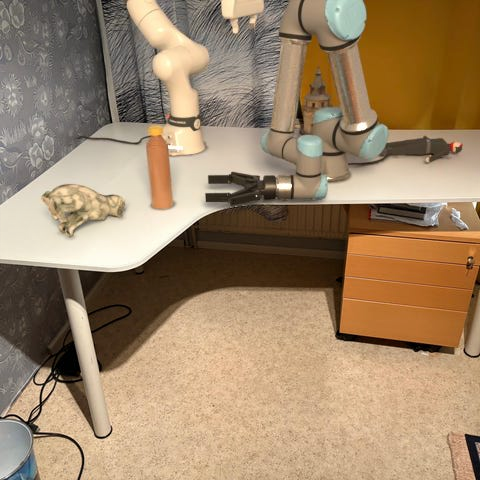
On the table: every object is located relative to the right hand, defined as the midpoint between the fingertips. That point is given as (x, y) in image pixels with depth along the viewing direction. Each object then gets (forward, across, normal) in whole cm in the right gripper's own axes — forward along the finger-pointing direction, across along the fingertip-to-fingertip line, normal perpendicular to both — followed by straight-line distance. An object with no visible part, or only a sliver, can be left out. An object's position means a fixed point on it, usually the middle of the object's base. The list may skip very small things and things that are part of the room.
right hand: (206, 188), depth 164 cm
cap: (+14, +2, +19) cm, 24 cm away
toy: (-78, +44, -6) cm, 90 cm away
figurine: (+34, -12, -6) cm, 37 cm away
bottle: (+14, +2, -6) cm, 16 cm away
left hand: (-12, +33, +40) cm, 54 cm away
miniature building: (-41, +62, -6) cm, 74 cm away
